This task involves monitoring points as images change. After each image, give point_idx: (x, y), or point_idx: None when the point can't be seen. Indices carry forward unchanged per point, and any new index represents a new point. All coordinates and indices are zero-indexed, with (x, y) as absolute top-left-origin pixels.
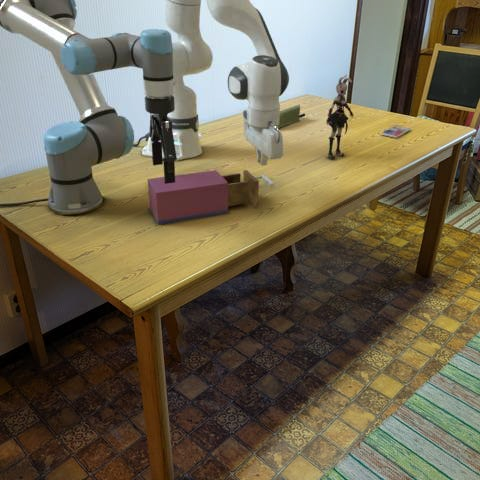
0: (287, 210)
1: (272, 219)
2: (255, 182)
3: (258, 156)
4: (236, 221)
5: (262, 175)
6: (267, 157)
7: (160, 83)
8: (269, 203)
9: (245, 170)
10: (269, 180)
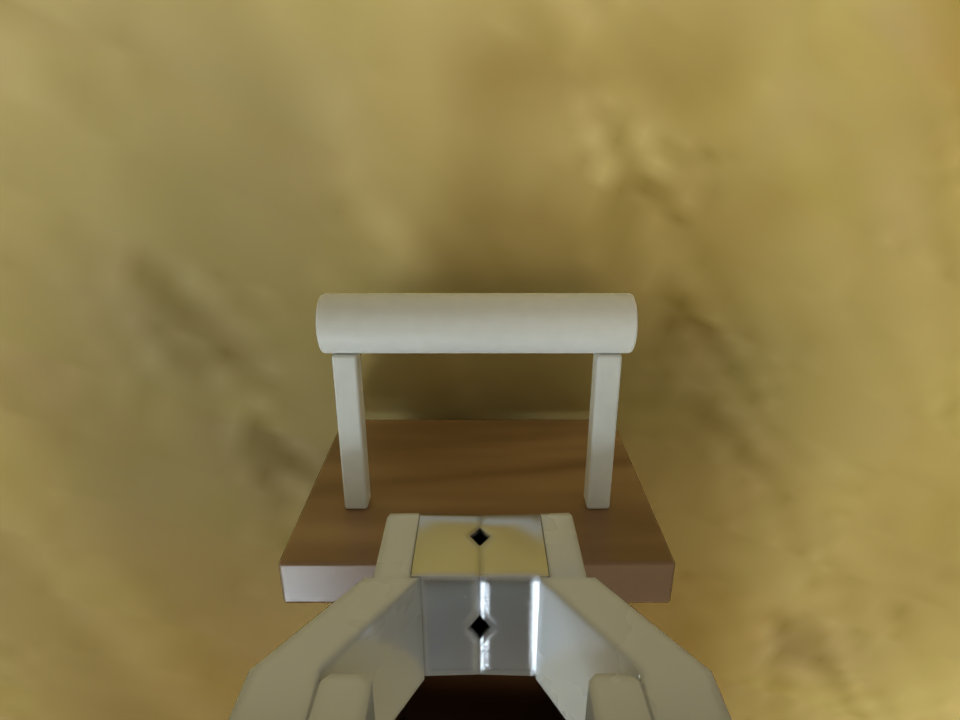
0: (781, 192)
1: (856, 385)
2: (668, 589)
3: (412, 689)
4: (745, 612)
5: (347, 349)
6: (645, 634)
7: None
8: (577, 286)
9: (296, 585)
10: (547, 341)
